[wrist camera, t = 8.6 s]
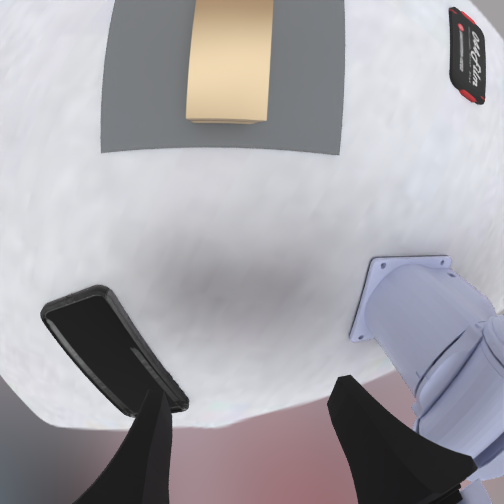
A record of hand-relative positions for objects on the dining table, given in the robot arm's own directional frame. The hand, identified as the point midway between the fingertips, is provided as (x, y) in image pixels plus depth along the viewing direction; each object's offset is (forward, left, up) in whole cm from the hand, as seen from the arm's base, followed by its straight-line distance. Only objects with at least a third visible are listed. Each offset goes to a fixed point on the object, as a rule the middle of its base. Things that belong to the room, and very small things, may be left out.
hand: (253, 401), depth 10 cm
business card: (-19, -21, -10) cm, 30 cm away
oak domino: (+1, -15, -9) cm, 18 cm away
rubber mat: (+1, -15, -9) cm, 18 cm away
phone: (+10, +8, -10) cm, 16 cm away
